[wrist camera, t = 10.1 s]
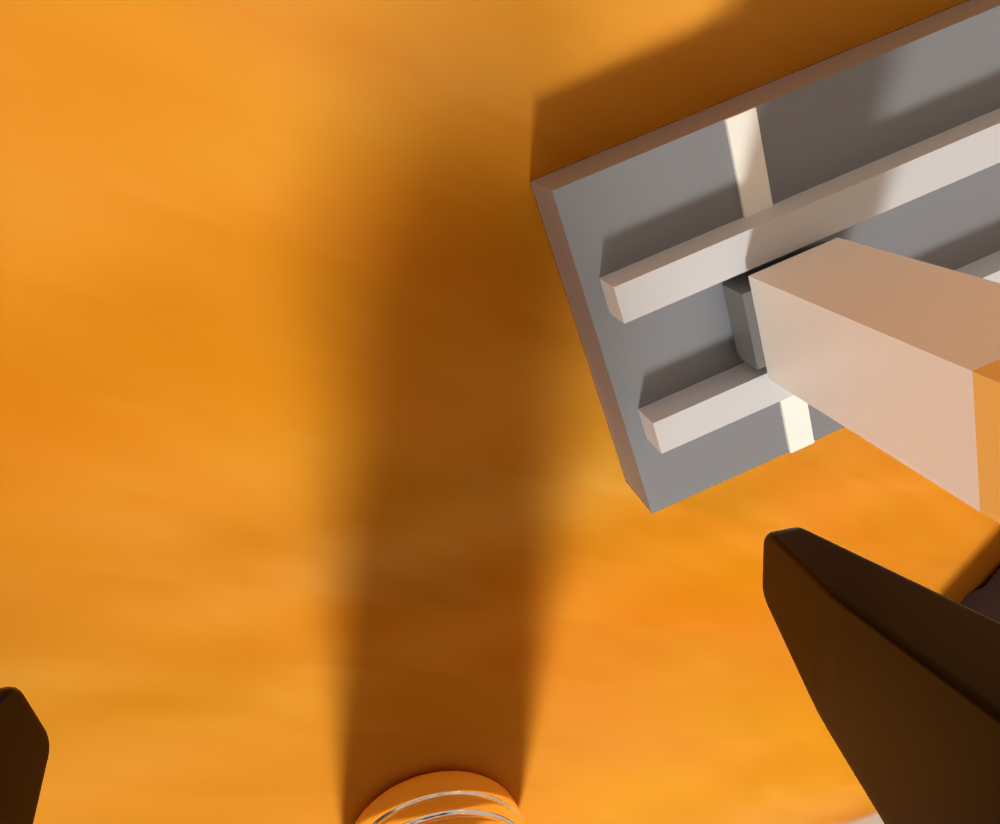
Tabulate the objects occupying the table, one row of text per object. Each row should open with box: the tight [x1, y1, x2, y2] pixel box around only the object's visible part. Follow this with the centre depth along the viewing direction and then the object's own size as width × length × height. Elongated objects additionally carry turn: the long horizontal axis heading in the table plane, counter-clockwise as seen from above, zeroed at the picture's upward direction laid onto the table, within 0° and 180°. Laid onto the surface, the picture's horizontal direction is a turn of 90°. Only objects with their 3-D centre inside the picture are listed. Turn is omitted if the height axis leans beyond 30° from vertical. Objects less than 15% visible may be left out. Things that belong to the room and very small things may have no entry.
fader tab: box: [723, 238, 1000, 524], centre depth 16 cm, size 3×3×10 cm
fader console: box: [530, 0, 1000, 513], centre depth 21 cm, size 18×10×3 cm, turn 110°
